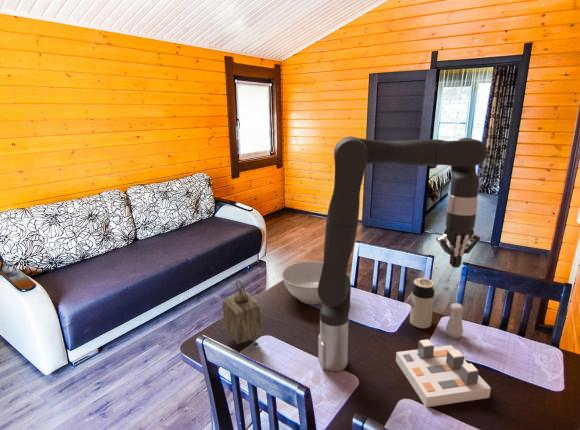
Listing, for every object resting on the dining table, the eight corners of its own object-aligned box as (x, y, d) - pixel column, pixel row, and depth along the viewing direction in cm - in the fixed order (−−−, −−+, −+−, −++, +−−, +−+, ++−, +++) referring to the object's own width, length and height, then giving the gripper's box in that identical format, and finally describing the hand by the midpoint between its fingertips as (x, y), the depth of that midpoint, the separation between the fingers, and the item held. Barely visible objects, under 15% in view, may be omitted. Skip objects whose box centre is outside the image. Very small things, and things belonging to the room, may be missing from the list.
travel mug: (431, 320, 144) (435, 279, 139) (430, 330, 137) (434, 288, 132) (411, 315, 147) (414, 276, 142) (408, 326, 140) (411, 284, 135)
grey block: (466, 385, 105) (468, 372, 104) (459, 376, 108) (460, 364, 107) (477, 383, 105) (479, 370, 104) (469, 375, 109) (471, 362, 107)
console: (425, 407, 103) (426, 396, 102) (395, 360, 122) (396, 351, 120) (489, 397, 105) (490, 387, 104) (450, 353, 124) (451, 344, 123)
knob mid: (452, 370, 111) (453, 357, 110) (445, 362, 114) (447, 350, 113) (462, 368, 112) (464, 356, 110) (456, 361, 115) (457, 349, 114)
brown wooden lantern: (263, 348, 130) (259, 286, 123) (240, 357, 125) (235, 293, 118) (246, 328, 142) (242, 270, 134) (224, 336, 137) (219, 277, 130)
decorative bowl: (311, 278, 182) (311, 256, 178) (353, 297, 163) (354, 273, 159) (270, 297, 164) (269, 273, 161) (312, 321, 145) (312, 294, 142)
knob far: (422, 358, 116) (424, 346, 115) (417, 351, 120) (418, 340, 118) (432, 357, 117) (434, 345, 116) (427, 350, 120) (428, 338, 119)
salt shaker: (463, 341, 131) (468, 310, 127) (447, 339, 132) (450, 308, 128) (459, 332, 136) (463, 301, 132) (443, 330, 137) (447, 300, 133)
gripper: (447, 215, 97) (441, 274, 102) (491, 212, 98) (483, 270, 103) (432, 208, 104) (427, 263, 109) (474, 205, 106) (467, 259, 111)
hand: (455, 266), depth 106 cm, fingers closed
